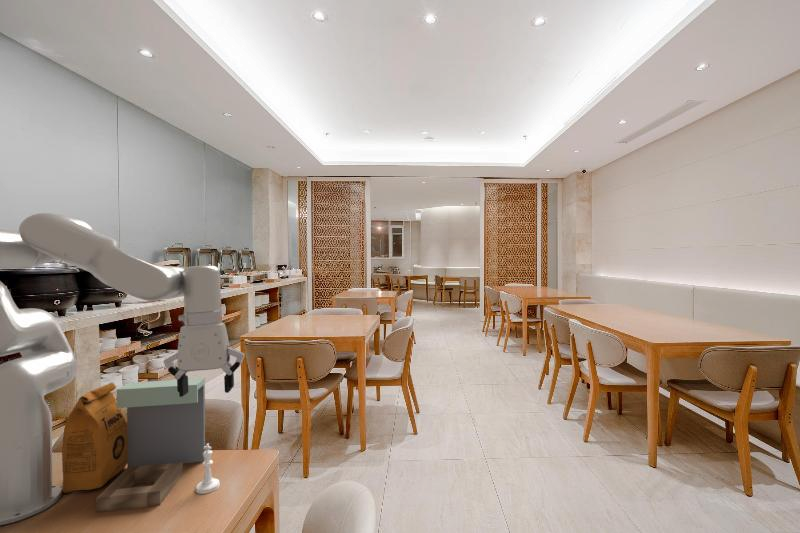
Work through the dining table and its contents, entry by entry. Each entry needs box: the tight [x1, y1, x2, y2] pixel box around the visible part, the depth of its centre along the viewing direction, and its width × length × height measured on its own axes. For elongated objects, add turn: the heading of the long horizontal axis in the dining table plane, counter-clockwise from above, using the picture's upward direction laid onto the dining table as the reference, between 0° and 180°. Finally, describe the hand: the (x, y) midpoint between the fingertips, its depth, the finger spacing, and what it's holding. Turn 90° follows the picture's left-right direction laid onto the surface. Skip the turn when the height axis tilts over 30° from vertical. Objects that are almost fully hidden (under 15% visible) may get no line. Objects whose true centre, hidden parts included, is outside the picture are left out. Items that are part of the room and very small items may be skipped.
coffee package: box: [61, 381, 127, 494], centre depth 88 cm, size 10×12×22 cm
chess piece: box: [195, 442, 221, 495], centre depth 85 cm, size 5×5×10 cm
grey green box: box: [116, 377, 206, 469], centre depth 93 cm, size 18×6×22 cm, turn 100°
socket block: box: [95, 462, 184, 513], centre depth 83 cm, size 12×12×3 cm
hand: (206, 392), depth 85 cm, fingers open, 9 cm apart
